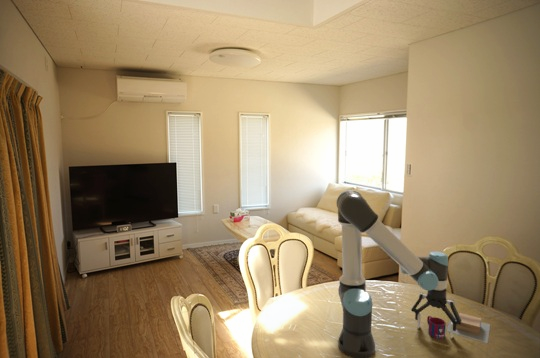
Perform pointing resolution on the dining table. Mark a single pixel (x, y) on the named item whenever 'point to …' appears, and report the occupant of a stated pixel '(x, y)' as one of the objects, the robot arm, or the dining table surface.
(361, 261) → the robot arm
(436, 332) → the mug
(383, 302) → the dining table surface
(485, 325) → the mat
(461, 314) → the base block
